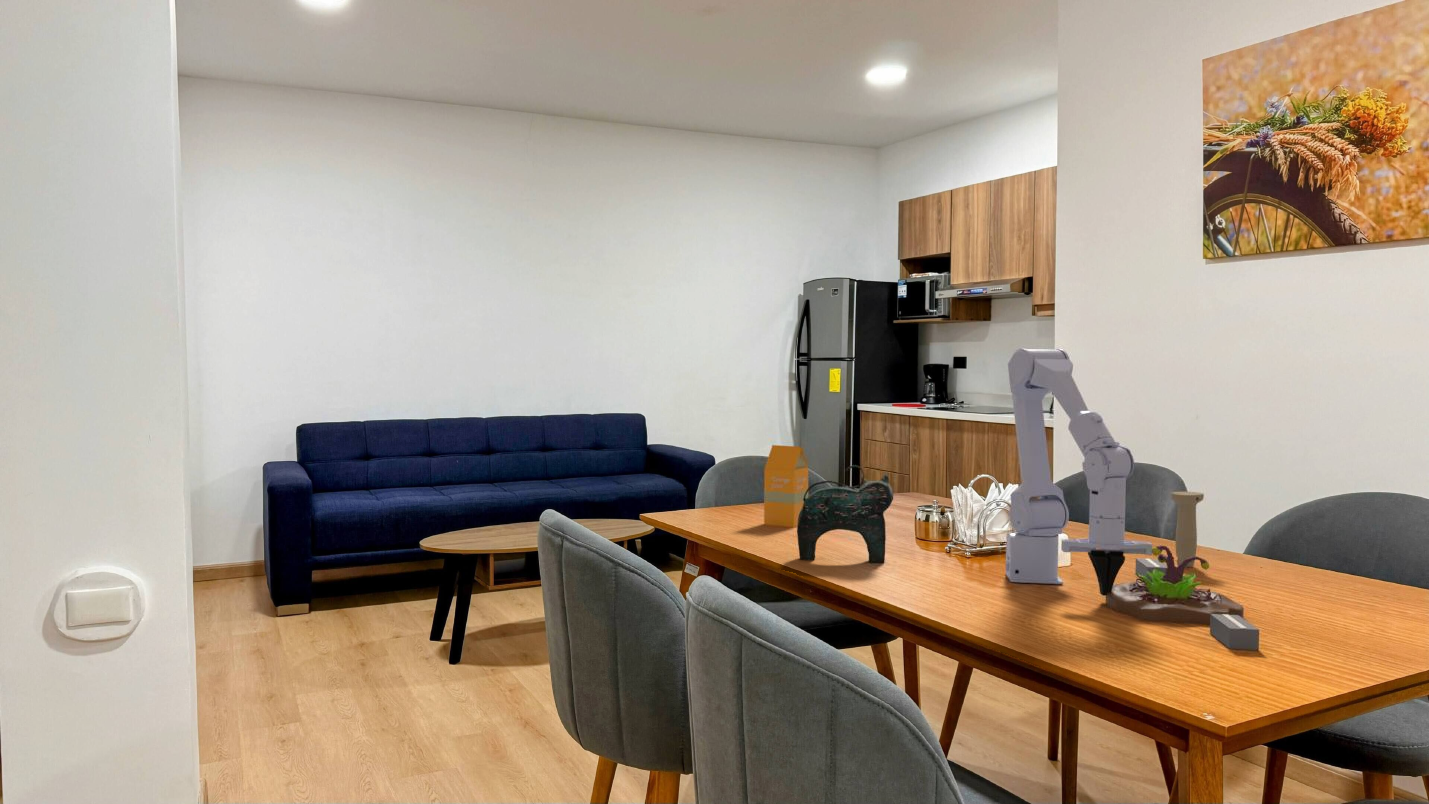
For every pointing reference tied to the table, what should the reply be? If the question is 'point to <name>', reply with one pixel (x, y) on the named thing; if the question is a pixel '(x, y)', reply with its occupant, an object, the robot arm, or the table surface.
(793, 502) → the orange juice
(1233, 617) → the grey blocks
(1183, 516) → the handle
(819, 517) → the ceramic cat
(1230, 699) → the table surface
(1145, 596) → the plant
